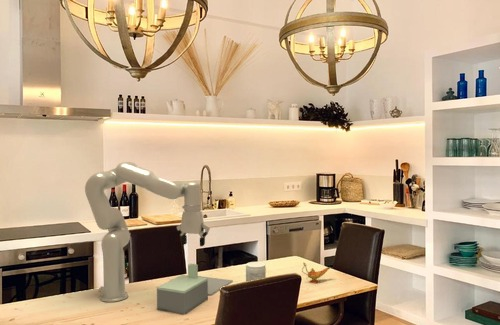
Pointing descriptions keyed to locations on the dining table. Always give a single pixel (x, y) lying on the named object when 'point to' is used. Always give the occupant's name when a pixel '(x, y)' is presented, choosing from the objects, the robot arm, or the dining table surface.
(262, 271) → the supplement tub
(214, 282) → the mat
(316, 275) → the magic lamp
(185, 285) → the lid
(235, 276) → the dining table surface
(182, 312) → the parts tub
